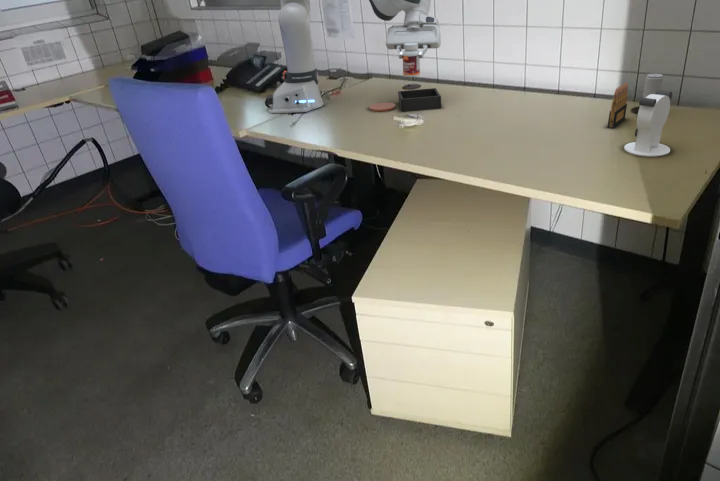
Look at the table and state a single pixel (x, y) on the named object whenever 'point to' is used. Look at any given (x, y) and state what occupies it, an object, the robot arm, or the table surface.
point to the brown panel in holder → (618, 106)
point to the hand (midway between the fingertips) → (410, 57)
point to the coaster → (382, 107)
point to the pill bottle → (411, 60)
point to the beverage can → (652, 84)
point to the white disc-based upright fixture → (651, 125)
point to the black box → (419, 99)
